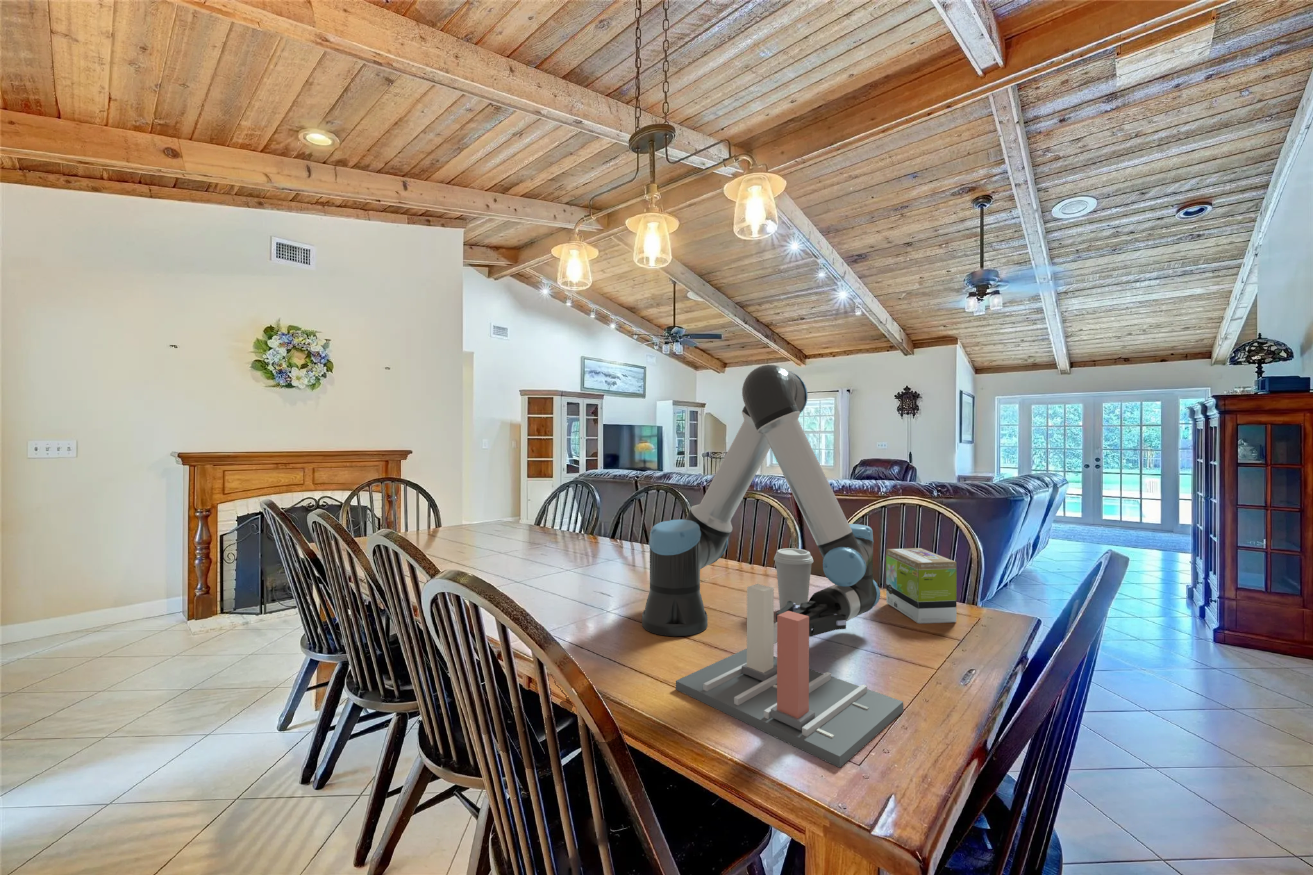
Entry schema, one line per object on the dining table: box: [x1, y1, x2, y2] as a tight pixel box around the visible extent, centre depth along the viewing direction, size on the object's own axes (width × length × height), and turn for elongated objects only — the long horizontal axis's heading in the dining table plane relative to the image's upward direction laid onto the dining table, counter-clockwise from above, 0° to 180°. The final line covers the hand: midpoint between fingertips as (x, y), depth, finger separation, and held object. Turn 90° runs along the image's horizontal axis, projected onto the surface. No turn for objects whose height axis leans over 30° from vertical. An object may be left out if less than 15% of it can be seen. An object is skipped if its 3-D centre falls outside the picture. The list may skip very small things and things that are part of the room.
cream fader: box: [742, 583, 777, 681], centre depth 93 cm, size 5×4×15 cm
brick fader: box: [771, 611, 815, 730], centre depth 79 cm, size 5×4×15 cm
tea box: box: [885, 547, 958, 625], centre depth 132 cm, size 15×10×15 cm, turn 5°
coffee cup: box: [773, 548, 814, 611], centre depth 132 cm, size 10×10×15 cm
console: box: [675, 648, 904, 769], centre depth 88 cm, size 30×21×2 cm
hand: (769, 635), depth 94 cm, fingers closed
